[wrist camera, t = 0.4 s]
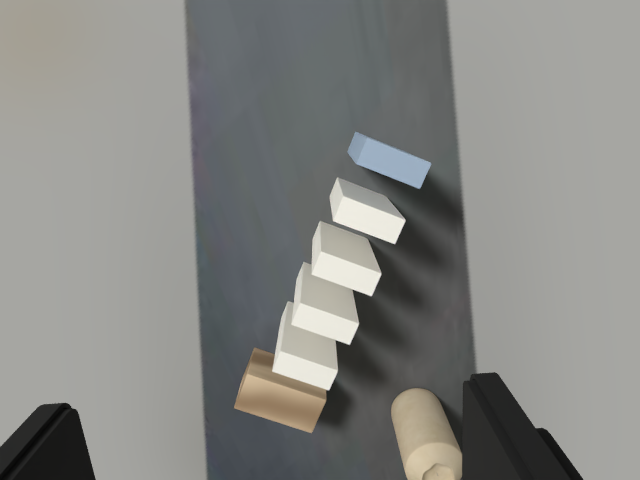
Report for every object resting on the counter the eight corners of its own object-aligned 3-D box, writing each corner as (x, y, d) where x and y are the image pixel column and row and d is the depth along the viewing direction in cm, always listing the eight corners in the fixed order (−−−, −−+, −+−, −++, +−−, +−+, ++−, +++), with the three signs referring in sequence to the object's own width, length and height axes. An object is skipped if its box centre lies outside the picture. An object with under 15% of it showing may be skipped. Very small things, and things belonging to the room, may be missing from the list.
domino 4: (303, 261, 45) (300, 302, 35) (350, 278, 46) (359, 323, 36) (296, 279, 46) (291, 324, 36) (342, 296, 46) (349, 345, 36)
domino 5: (287, 301, 46) (280, 351, 36) (333, 317, 47) (337, 370, 37) (281, 317, 47) (272, 371, 37) (326, 333, 47) (329, 390, 38)
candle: (450, 400, 49) (482, 470, 40) (422, 437, 51) (447, 514, 41) (407, 379, 49) (430, 444, 39) (381, 417, 50) (396, 490, 40)
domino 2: (337, 177, 43) (343, 196, 33) (385, 196, 43) (405, 220, 34) (329, 196, 43) (333, 220, 34) (377, 215, 44) (395, 244, 34)
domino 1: (355, 131, 42) (367, 137, 32) (405, 151, 42) (431, 163, 32) (347, 152, 42) (356, 164, 32) (396, 171, 43) (419, 189, 33)
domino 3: (320, 220, 44) (321, 251, 34) (367, 238, 44) (381, 273, 35) (312, 239, 44) (311, 274, 35) (359, 256, 45) (371, 296, 35)
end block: (254, 347, 47) (247, 373, 43) (325, 371, 48) (326, 400, 44) (242, 378, 48) (234, 408, 44) (312, 401, 49) (311, 433, 45)
